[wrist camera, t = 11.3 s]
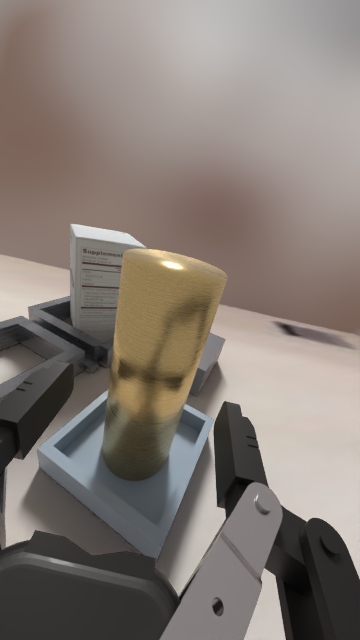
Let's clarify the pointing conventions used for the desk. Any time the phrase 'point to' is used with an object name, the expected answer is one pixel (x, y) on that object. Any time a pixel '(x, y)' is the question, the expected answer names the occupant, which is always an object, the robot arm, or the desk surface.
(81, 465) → the tote tray
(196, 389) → the grey square socket block
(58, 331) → the gray compartment tray
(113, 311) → the supplement box
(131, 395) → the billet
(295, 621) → the robot arm
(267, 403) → the desk surface
